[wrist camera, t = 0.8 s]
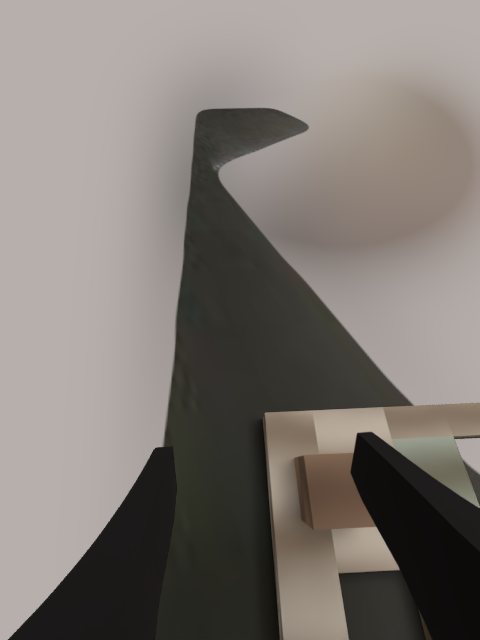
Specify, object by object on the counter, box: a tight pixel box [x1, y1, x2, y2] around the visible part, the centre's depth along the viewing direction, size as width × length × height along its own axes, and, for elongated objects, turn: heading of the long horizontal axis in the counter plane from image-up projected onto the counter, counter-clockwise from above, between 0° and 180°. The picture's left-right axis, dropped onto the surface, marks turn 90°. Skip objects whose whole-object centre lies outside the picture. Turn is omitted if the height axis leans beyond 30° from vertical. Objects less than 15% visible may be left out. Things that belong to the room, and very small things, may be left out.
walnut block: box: [294, 453, 376, 530], centre depth 19 cm, size 4×4×4 cm
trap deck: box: [263, 403, 480, 640], centre depth 21 cm, size 18×22×3 cm
